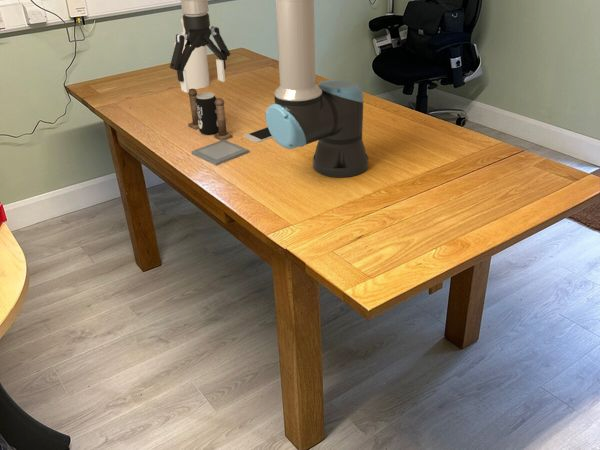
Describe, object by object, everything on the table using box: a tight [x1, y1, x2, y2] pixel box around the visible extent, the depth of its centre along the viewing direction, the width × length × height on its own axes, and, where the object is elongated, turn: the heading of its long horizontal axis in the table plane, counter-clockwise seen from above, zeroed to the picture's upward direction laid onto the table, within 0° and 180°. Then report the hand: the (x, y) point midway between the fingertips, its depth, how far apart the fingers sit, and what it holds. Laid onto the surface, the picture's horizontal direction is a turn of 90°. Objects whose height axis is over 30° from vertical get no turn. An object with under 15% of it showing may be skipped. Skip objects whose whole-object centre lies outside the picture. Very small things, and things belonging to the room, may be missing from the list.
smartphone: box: [242, 126, 273, 144], centre depth 184 cm, size 7×15×1 cm, turn 131°
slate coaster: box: [190, 139, 250, 166], centre depth 171 cm, size 12×12×1 cm
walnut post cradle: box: [187, 88, 233, 141], centre depth 183 cm, size 18×4×13 cm, turn 44°
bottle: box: [173, 17, 211, 90], centre depth 223 cm, size 12×12×25 cm
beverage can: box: [195, 91, 219, 136], centre depth 183 cm, size 7×7×12 cm
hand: (203, 86), depth 179 cm, fingers open, 13 cm apart
